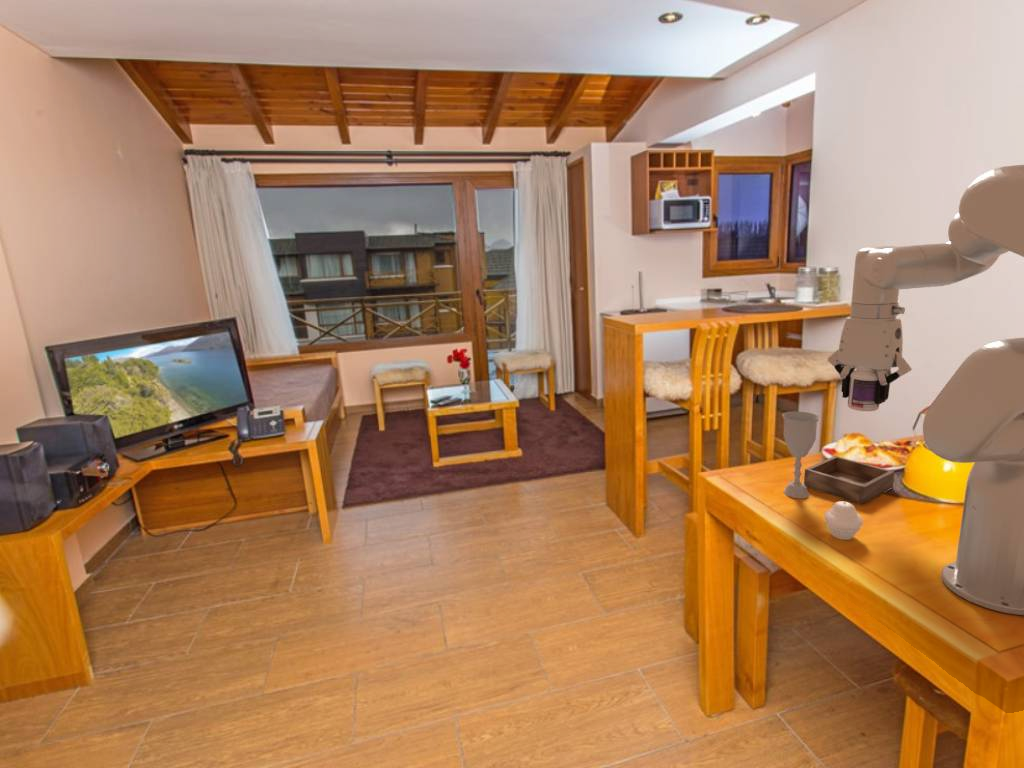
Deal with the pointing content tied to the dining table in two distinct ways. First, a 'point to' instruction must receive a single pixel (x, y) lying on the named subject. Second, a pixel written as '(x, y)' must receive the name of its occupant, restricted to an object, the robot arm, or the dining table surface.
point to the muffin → (843, 520)
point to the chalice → (799, 445)
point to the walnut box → (849, 479)
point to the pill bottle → (863, 389)
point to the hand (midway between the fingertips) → (863, 398)
